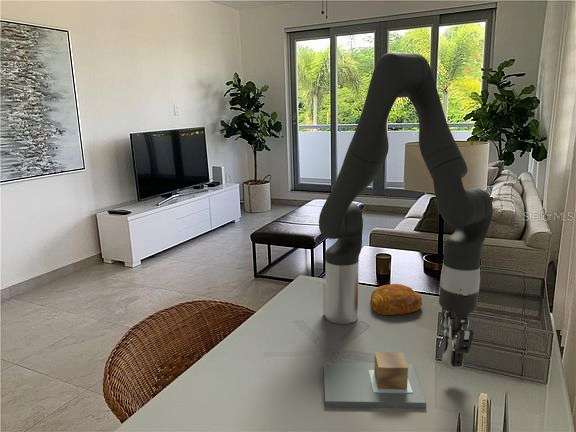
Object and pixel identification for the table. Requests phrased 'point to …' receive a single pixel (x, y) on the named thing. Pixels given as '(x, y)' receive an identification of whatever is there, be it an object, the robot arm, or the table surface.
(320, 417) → the table surface
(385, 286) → the croissant
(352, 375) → the board
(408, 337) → the table surface
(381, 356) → the walnut block
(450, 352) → the rook chess piece
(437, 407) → the table surface
